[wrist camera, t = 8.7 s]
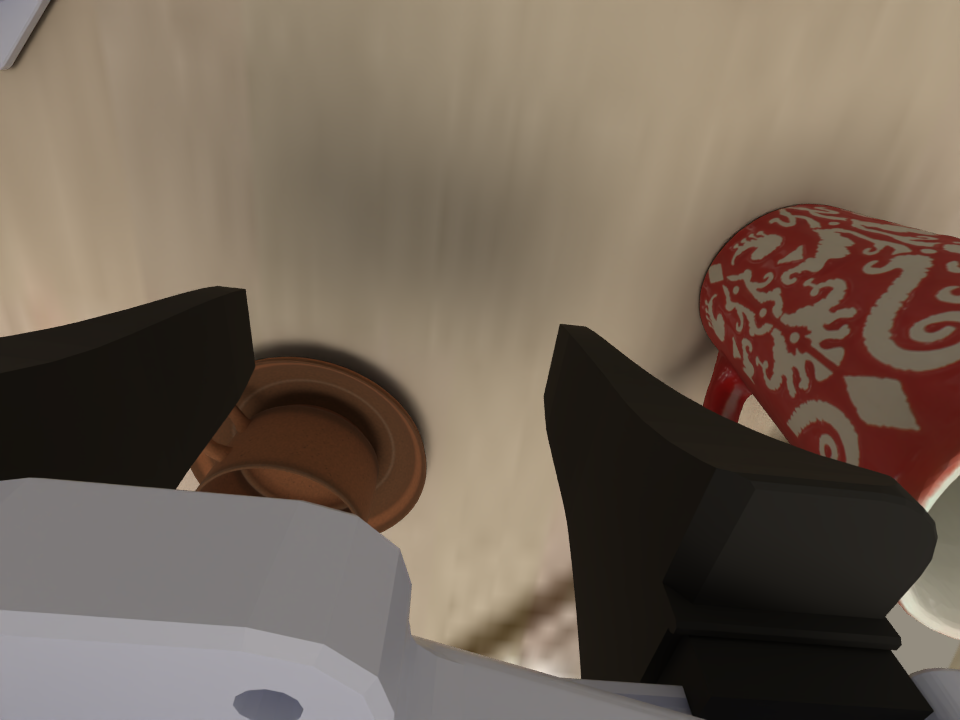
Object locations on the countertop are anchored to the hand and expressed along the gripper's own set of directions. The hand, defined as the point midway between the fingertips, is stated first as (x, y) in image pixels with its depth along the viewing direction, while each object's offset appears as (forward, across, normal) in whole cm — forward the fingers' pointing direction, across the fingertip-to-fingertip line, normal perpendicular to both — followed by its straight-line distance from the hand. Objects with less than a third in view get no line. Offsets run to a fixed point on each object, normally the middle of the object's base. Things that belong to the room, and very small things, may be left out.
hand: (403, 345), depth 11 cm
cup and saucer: (+11, +6, +12) cm, 17 cm away
